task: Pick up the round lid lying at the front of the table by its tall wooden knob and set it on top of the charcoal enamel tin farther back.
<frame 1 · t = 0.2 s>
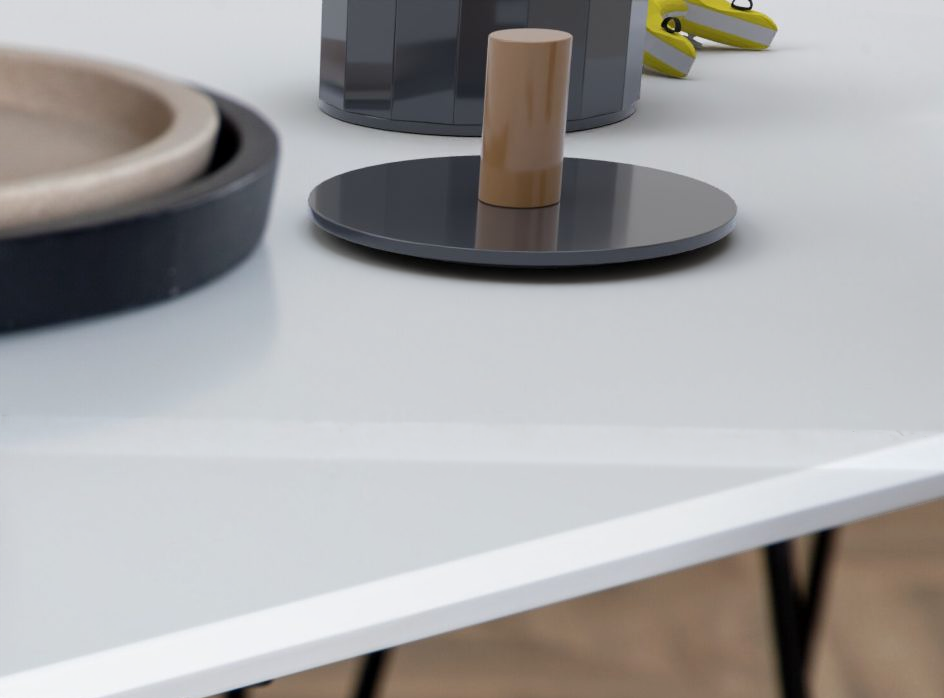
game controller: (678, 62, 116), on the table
tin lid: (517, 212, 85), point 1 cm above the table
tin: (475, 104, 107), on the table
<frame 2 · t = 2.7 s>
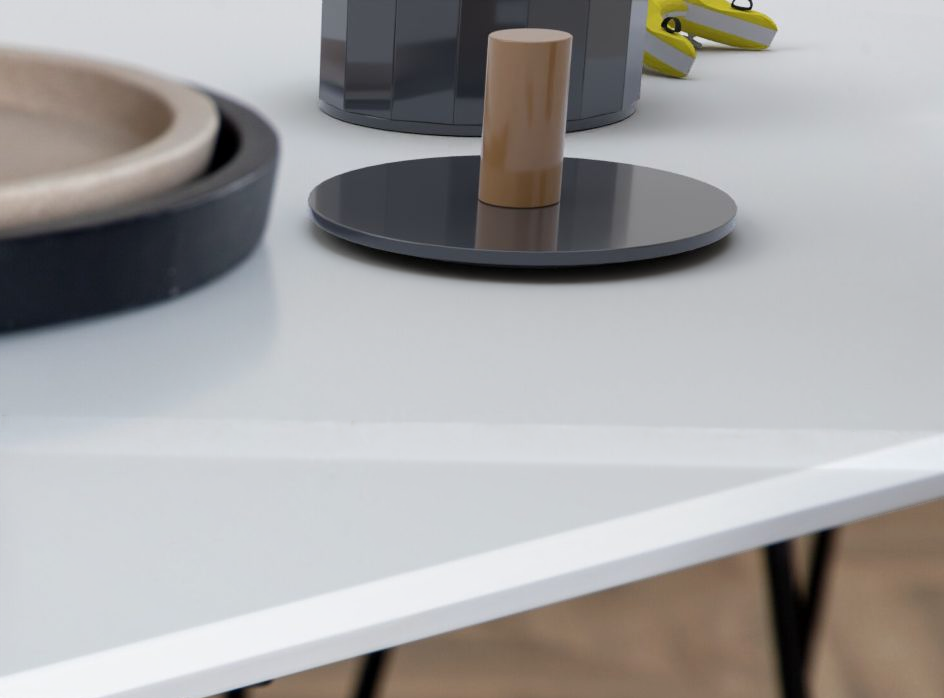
nothing on the table moved.
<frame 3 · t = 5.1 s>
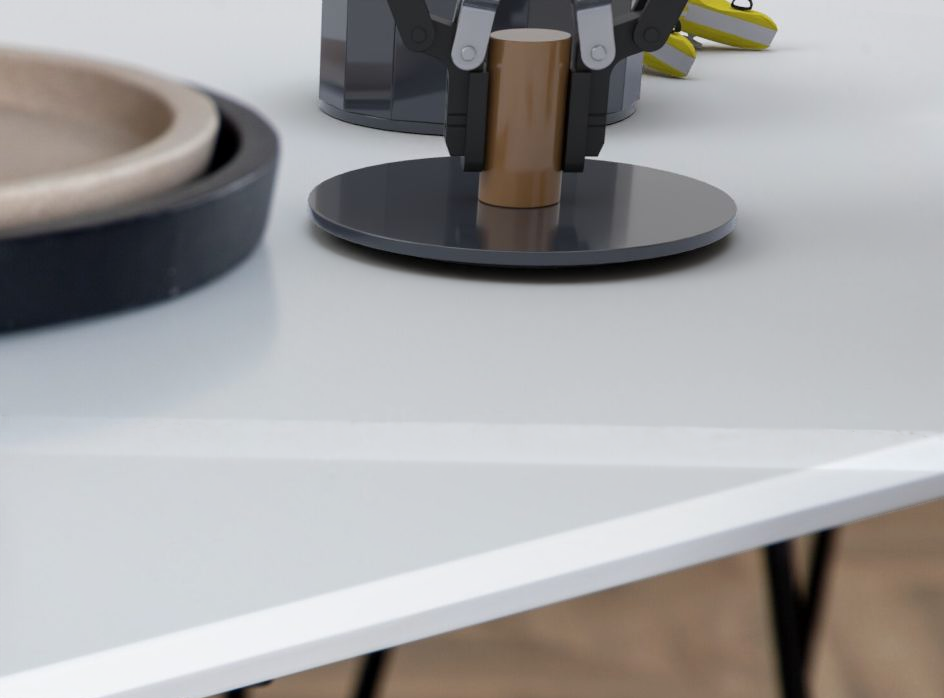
hand: (521, 166, 84), 2 cm above the table, tool pointing down, fingers closed on tin lid, 3 cm apart
tin lid: (517, 212, 85), point 1 cm above the table, touching gripper
everything else where it was.
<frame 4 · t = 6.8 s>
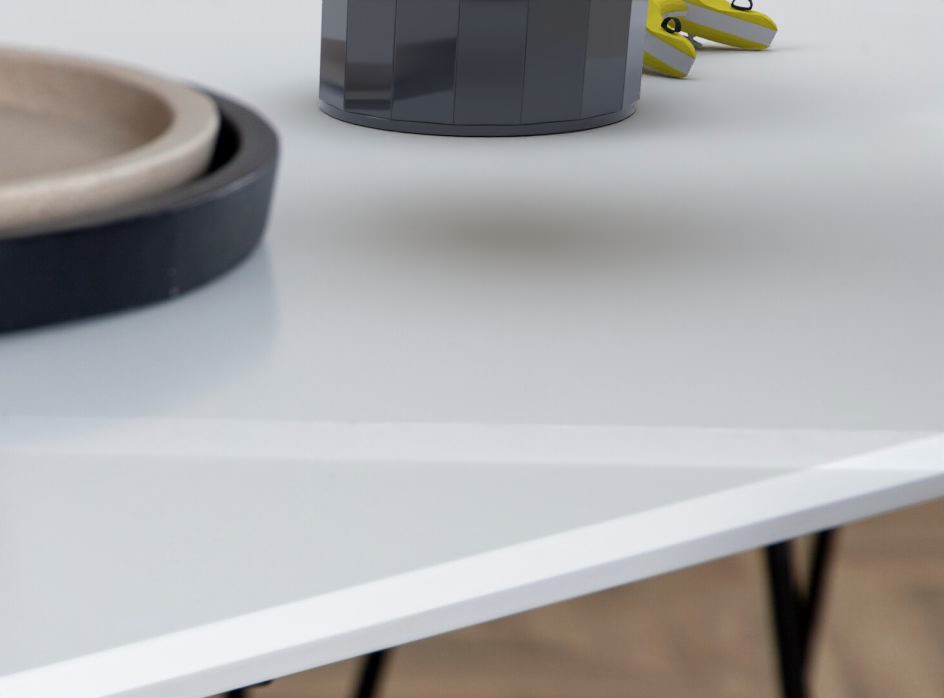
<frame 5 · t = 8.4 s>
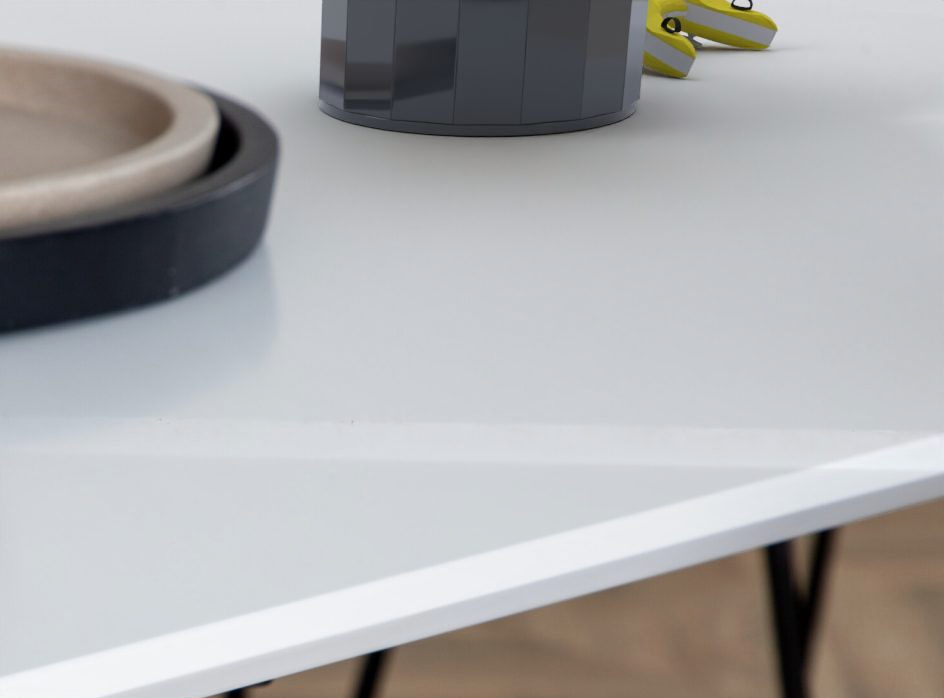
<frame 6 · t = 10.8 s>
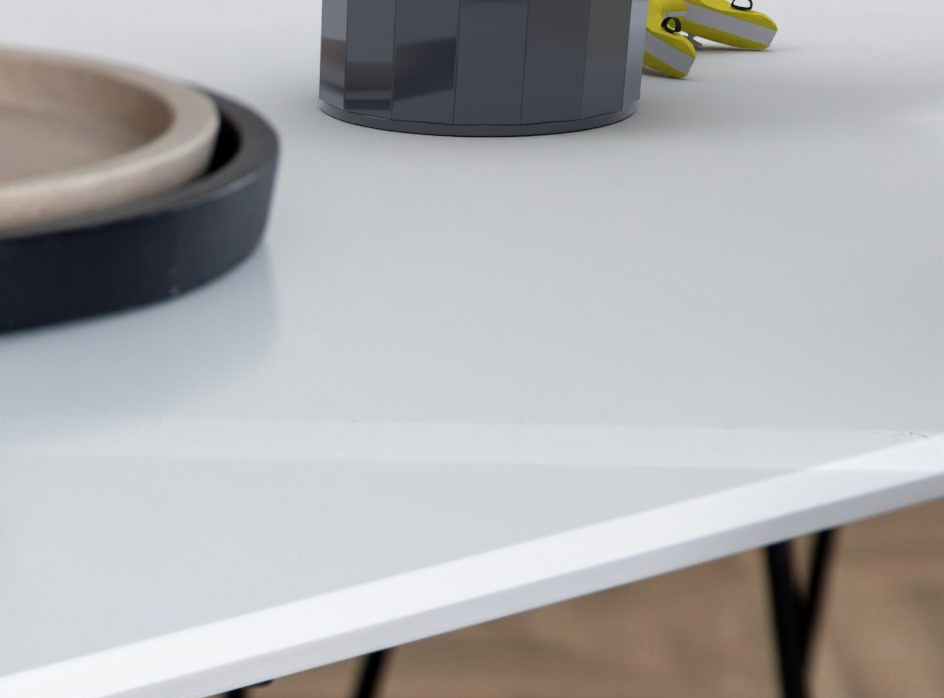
when the fingers open (10 cm above the table, at t = 12.0 s): tin lid stays where it is, resting on tin.
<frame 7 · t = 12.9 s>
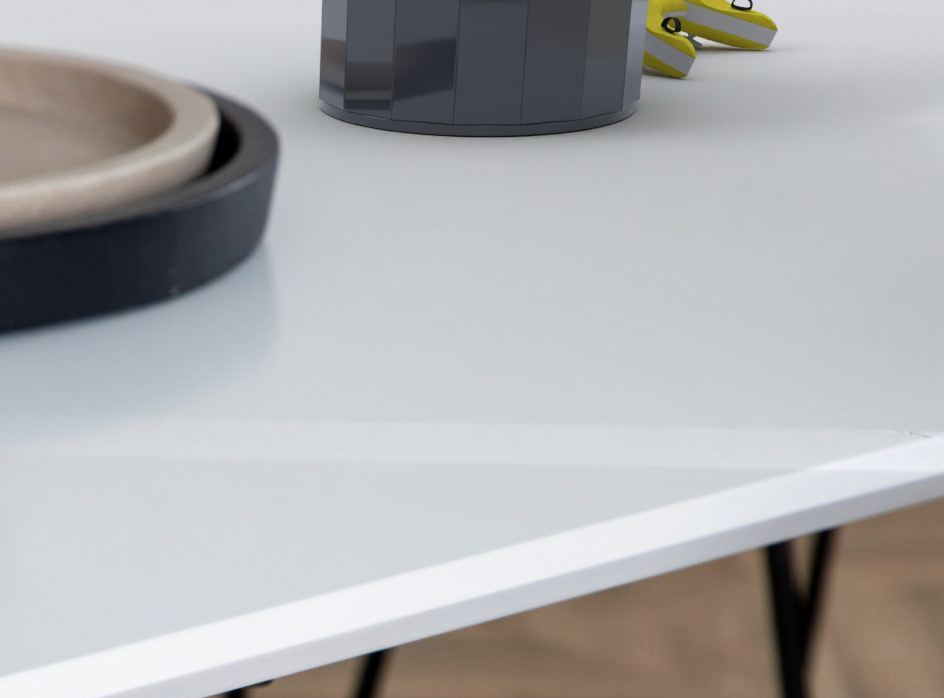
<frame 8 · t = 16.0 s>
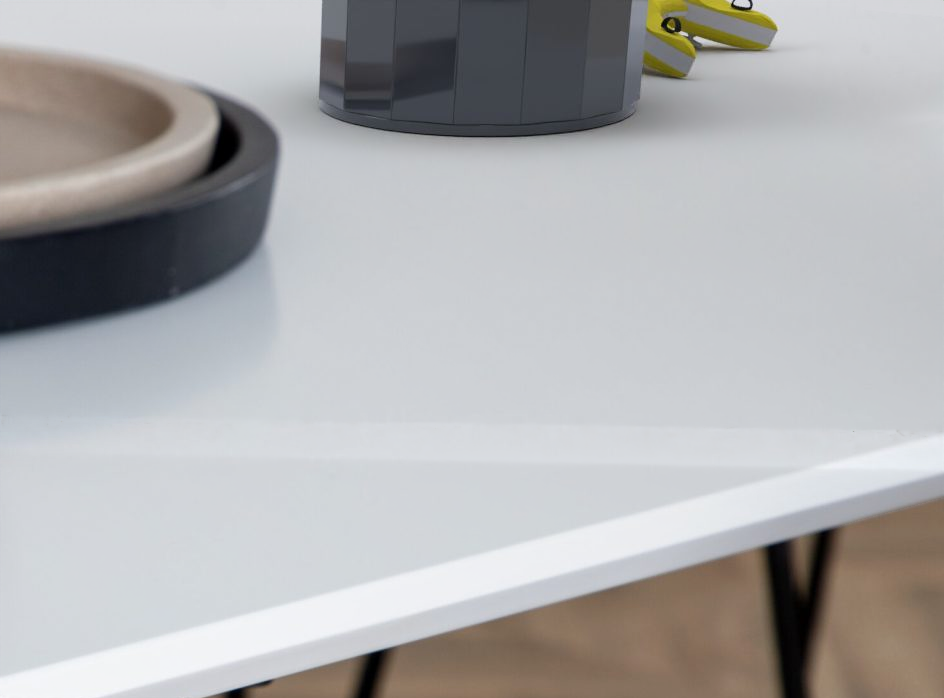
at the end: tin lid 0.1 cm off-centre on the tin, point 8.5 cm above the tin's base; tin lid tilted 0° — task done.
